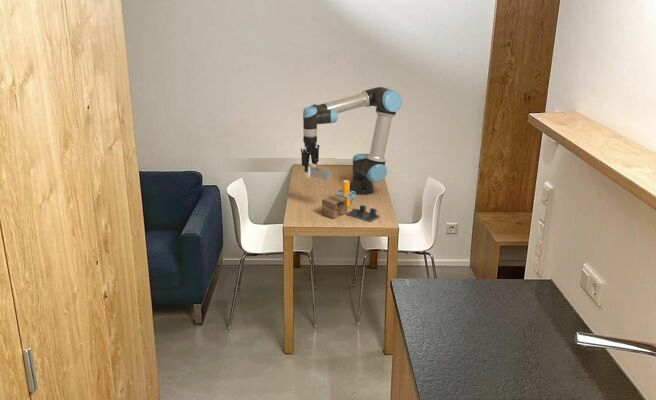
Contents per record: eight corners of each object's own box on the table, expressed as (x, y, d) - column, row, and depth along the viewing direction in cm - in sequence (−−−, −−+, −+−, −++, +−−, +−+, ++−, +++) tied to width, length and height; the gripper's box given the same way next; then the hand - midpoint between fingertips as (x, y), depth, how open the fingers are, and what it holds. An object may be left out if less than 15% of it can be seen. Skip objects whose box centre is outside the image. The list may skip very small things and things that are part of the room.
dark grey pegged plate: (355, 210, 346) (356, 203, 344) (379, 217, 337) (379, 210, 335) (346, 215, 339) (346, 207, 338) (369, 222, 330) (370, 214, 328)
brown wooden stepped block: (335, 209, 347) (335, 194, 343) (346, 213, 342) (347, 197, 339) (322, 215, 338) (322, 199, 335) (333, 219, 333) (333, 203, 330)
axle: (311, 173, 346) (311, 166, 345) (332, 178, 337) (332, 171, 336) (306, 175, 343) (306, 167, 342) (327, 180, 334) (327, 172, 333)
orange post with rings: (353, 210, 346) (353, 185, 341) (334, 208, 348) (335, 183, 343) (356, 203, 358) (357, 178, 353) (338, 201, 360) (339, 177, 355)
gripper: (315, 131, 345) (315, 171, 353) (294, 137, 333) (294, 178, 341) (325, 133, 341) (325, 173, 349) (304, 139, 328) (305, 181, 336)
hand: (310, 176), depth 345 cm, fingers closed on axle, 4 cm apart
